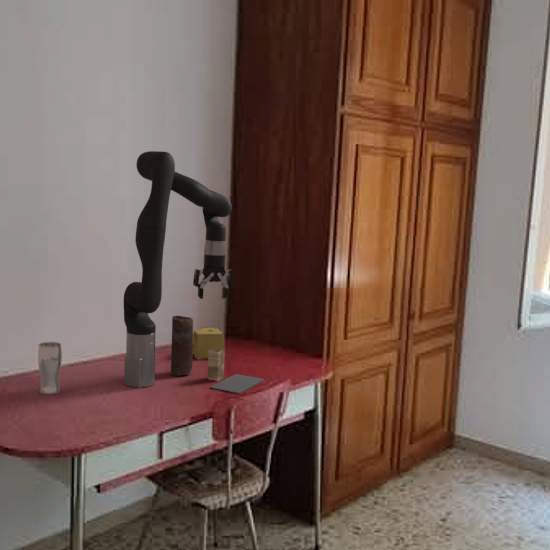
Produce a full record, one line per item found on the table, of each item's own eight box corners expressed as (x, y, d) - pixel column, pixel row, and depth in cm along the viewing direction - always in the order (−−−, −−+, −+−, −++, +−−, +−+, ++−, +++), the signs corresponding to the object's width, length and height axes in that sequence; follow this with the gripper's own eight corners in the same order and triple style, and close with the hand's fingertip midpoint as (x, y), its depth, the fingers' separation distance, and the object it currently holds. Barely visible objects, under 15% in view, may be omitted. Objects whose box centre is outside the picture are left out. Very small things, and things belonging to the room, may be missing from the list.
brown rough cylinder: (175, 369, 251) (176, 314, 248) (195, 371, 250) (196, 315, 247) (167, 375, 244) (168, 318, 241) (188, 377, 242) (189, 320, 240)
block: (217, 381, 240) (218, 351, 238) (207, 379, 241) (208, 350, 240) (223, 378, 243) (224, 349, 242) (213, 376, 245) (214, 347, 244)
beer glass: (62, 388, 225) (63, 341, 223) (60, 394, 219) (60, 347, 216) (39, 388, 224) (39, 341, 222) (36, 395, 217) (36, 347, 215)
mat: (239, 393, 227) (239, 392, 227) (209, 388, 232) (209, 387, 232) (264, 380, 243) (264, 379, 243) (235, 375, 248) (235, 374, 248)
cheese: (190, 353, 276) (191, 327, 274) (218, 352, 279) (218, 327, 277) (196, 360, 266) (196, 333, 264) (224, 359, 269) (225, 333, 268)
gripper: (198, 254, 246) (196, 300, 248) (237, 254, 252) (235, 300, 254) (192, 251, 253) (190, 297, 255) (230, 252, 259) (227, 296, 261)
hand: (212, 298), depth 255 cm, fingers open, 8 cm apart
